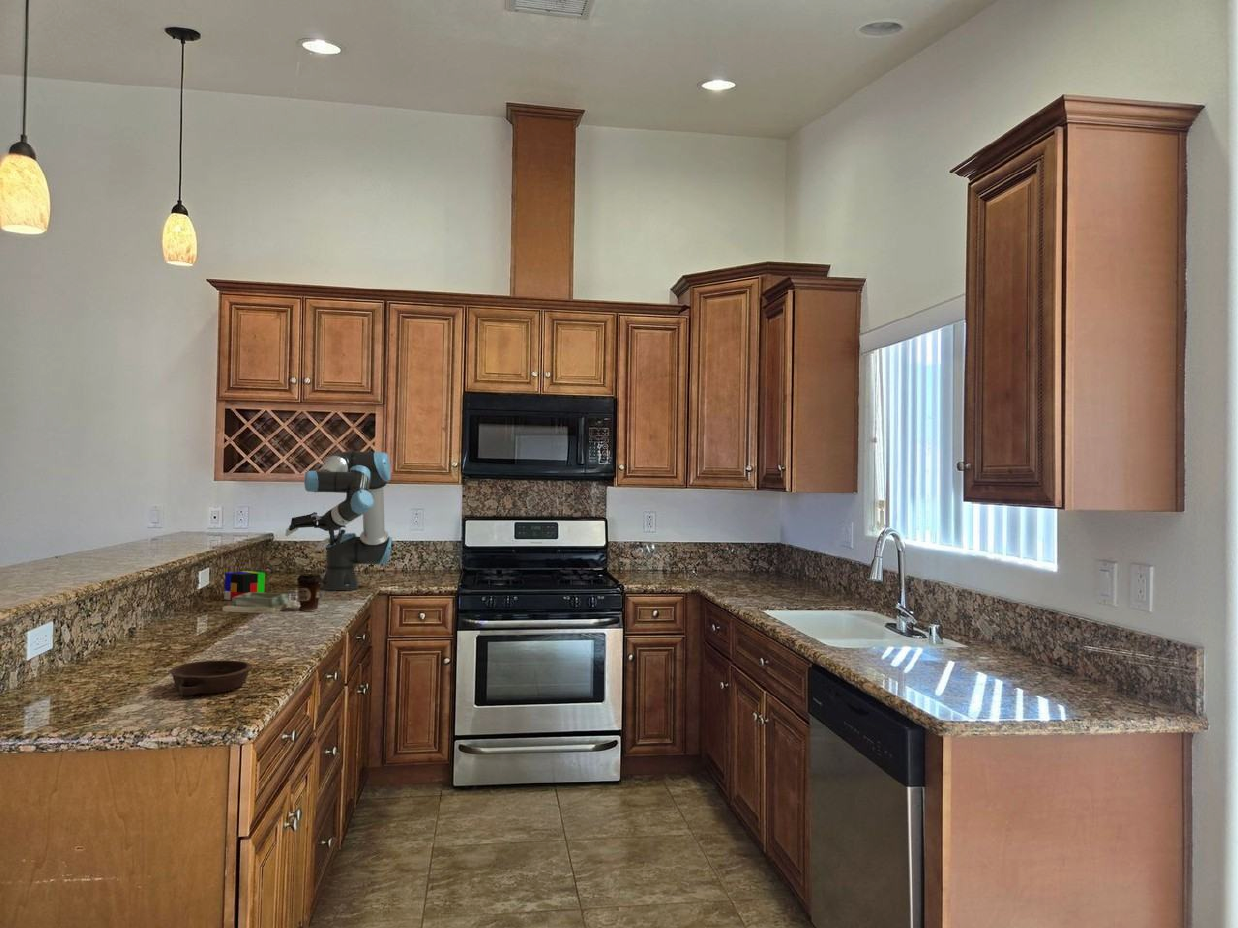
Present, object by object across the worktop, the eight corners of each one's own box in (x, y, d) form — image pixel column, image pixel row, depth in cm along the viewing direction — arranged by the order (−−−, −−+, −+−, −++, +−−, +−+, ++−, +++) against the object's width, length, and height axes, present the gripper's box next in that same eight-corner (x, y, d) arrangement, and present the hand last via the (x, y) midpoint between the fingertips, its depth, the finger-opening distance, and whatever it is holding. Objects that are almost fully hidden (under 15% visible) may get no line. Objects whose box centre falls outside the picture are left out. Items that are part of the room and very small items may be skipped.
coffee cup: (305, 612, 311) (307, 576, 311) (290, 610, 315) (291, 574, 315) (326, 610, 318) (327, 574, 318) (310, 607, 323) (312, 572, 323)
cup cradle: (248, 602, 329) (249, 590, 329) (296, 604, 328) (296, 592, 328) (222, 611, 309) (223, 598, 309) (272, 613, 308) (273, 600, 308)
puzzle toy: (224, 599, 336) (225, 573, 336) (246, 596, 345) (247, 570, 345) (242, 601, 331) (243, 575, 331) (264, 598, 340) (265, 572, 340)
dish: (267, 678, 217) (268, 658, 217) (227, 702, 195) (228, 679, 195) (196, 676, 217) (197, 656, 217) (148, 699, 195) (149, 676, 195)
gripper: (307, 511, 303) (271, 535, 313) (366, 538, 319) (330, 561, 329) (310, 493, 308) (274, 518, 318) (368, 521, 324) (332, 544, 334)
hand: (302, 540), depth 323 cm, fingers open, 13 cm apart
